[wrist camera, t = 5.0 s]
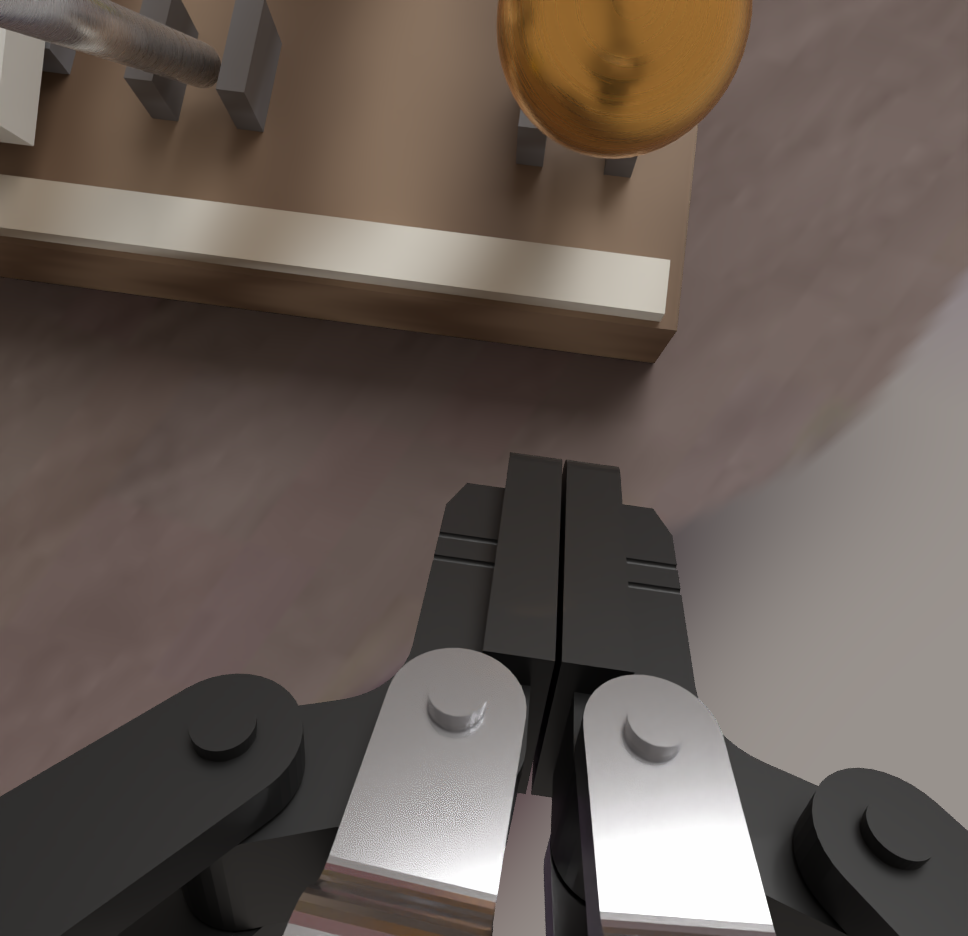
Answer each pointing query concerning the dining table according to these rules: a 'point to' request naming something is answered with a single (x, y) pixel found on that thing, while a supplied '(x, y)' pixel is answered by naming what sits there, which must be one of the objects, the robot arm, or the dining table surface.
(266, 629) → the dining table surface
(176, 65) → the lever black
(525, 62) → the lever orange
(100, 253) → the panel
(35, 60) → the block
